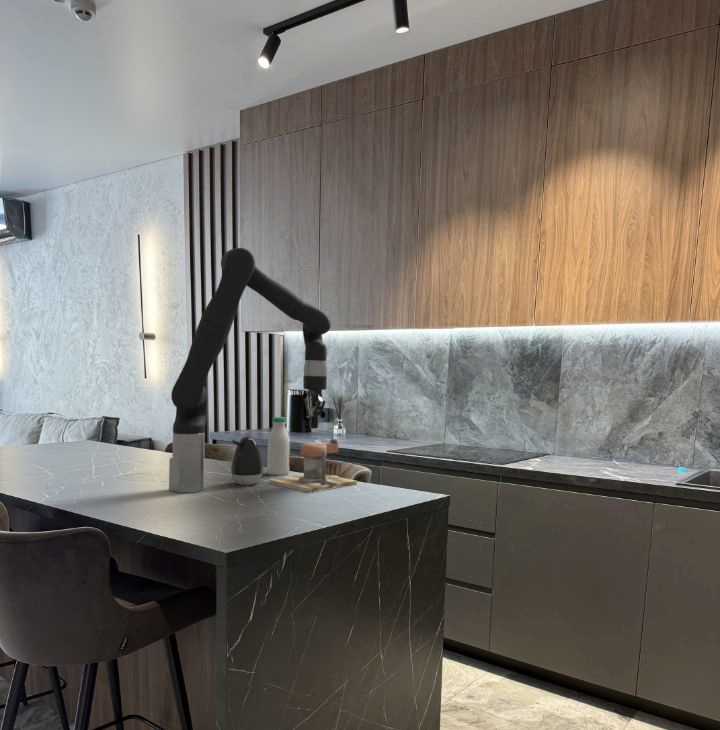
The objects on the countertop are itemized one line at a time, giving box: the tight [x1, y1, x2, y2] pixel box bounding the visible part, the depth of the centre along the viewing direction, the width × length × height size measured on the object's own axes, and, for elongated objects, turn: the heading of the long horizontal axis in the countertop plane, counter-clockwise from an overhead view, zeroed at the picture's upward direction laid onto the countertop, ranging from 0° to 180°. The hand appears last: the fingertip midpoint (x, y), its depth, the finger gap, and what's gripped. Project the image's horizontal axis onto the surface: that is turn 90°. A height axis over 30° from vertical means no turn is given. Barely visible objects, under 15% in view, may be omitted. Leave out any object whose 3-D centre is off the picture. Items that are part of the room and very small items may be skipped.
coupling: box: [299, 438, 339, 457], centre depth 193 cm, size 14×8×4 cm, turn 135°
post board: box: [268, 448, 358, 493], centre depth 191 cm, size 20×20×12 cm
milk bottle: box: [266, 416, 291, 476], centre depth 209 cm, size 8×8×20 cm
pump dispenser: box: [230, 436, 264, 486], centre depth 189 cm, size 10×10×15 cm
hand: (313, 428), depth 191 cm, fingers closed
